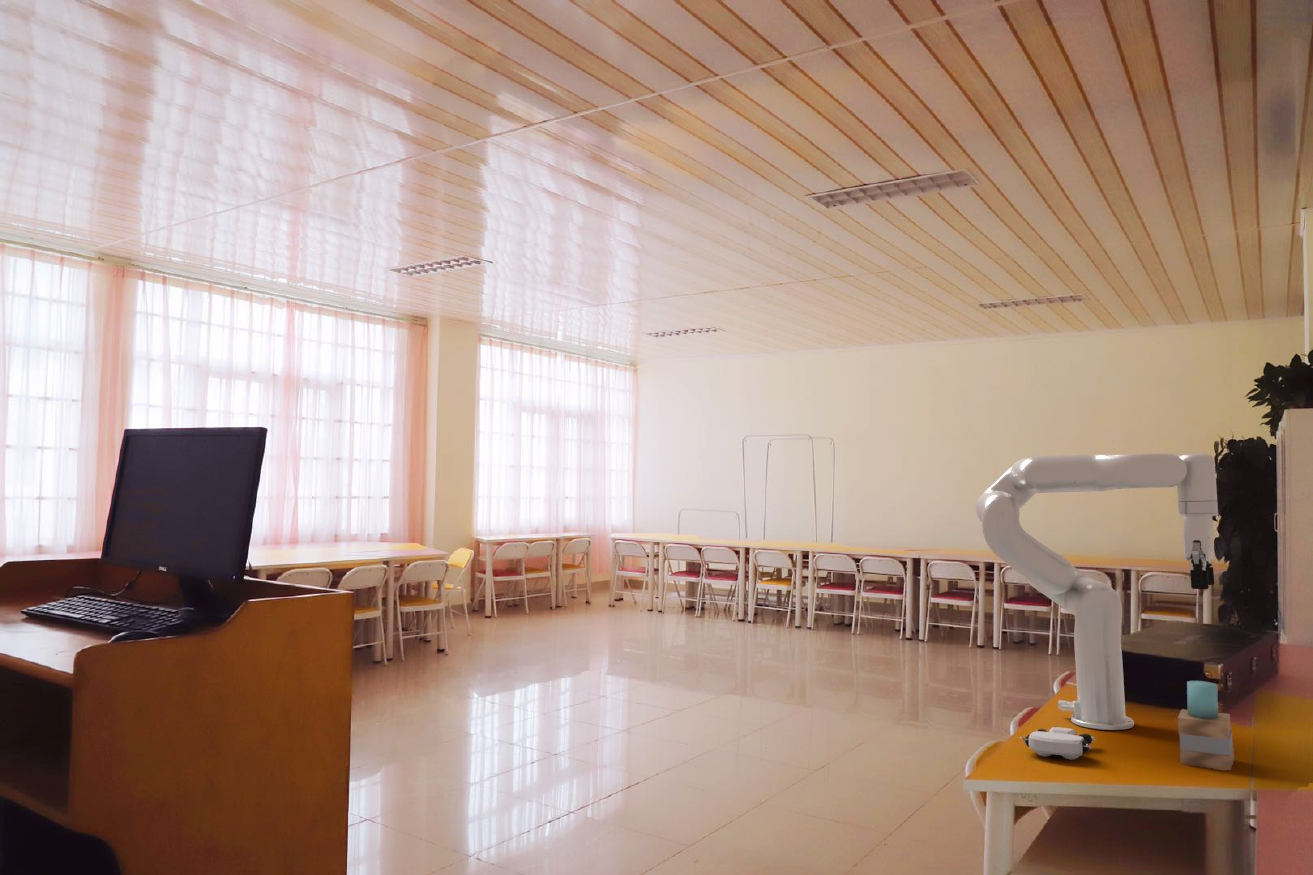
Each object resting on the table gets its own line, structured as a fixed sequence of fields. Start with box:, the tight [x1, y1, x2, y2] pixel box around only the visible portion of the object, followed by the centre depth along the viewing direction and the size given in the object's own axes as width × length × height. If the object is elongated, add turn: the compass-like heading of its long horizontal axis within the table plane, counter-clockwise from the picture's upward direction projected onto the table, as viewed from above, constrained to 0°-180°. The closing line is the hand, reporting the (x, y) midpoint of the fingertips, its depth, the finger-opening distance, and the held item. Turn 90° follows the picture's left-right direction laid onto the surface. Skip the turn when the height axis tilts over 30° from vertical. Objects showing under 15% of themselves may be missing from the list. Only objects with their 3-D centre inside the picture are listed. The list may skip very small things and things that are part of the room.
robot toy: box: [1019, 726, 1096, 761], centre depth 180 cm, size 12×4×15 cm
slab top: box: [1177, 708, 1232, 739], centre depth 172 cm, size 8×8×3 cm
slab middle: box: [1179, 729, 1234, 756], centre depth 172 cm, size 8×8×3 cm
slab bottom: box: [1179, 745, 1235, 771], centre depth 171 cm, size 8×8×3 cm
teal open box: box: [1186, 680, 1219, 719], centre depth 172 cm, size 5×5×6 cm
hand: (1203, 586), depth 198 cm, fingers open, 9 cm apart
